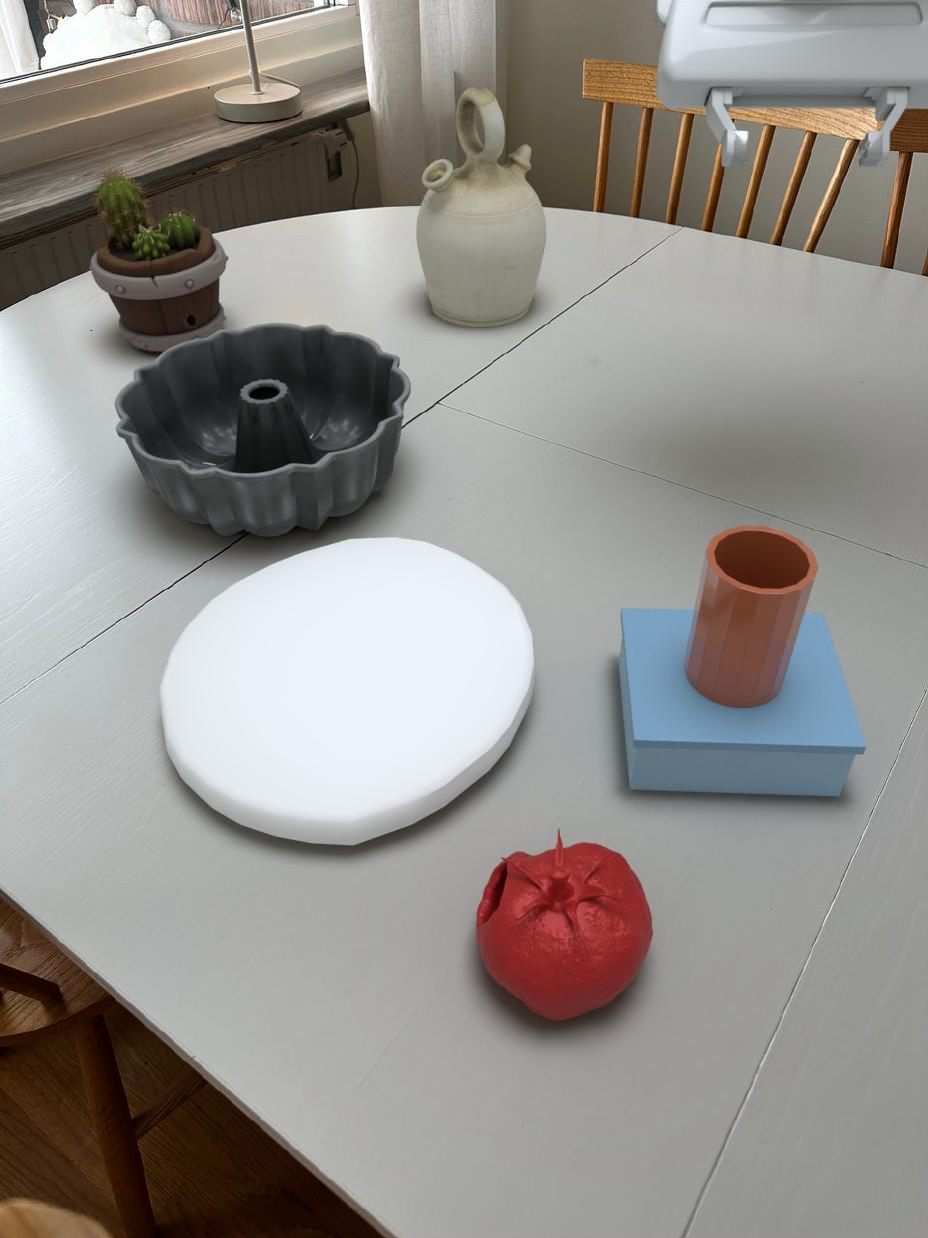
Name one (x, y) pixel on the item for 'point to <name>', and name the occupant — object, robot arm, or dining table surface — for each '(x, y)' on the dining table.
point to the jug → (480, 225)
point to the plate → (347, 689)
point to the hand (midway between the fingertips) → (804, 162)
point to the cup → (748, 614)
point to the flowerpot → (156, 269)
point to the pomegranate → (564, 928)
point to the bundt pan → (266, 426)
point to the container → (733, 717)
